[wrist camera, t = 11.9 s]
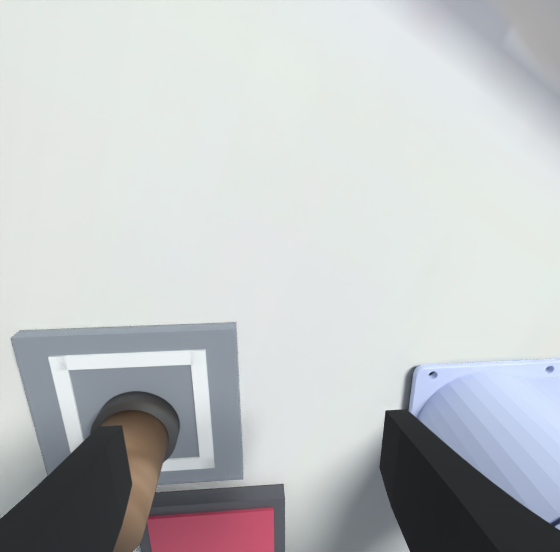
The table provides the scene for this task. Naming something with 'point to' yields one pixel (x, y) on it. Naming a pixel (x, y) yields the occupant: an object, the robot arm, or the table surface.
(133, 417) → the stamp
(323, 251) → the table surface
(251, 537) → the ink pad
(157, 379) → the board
